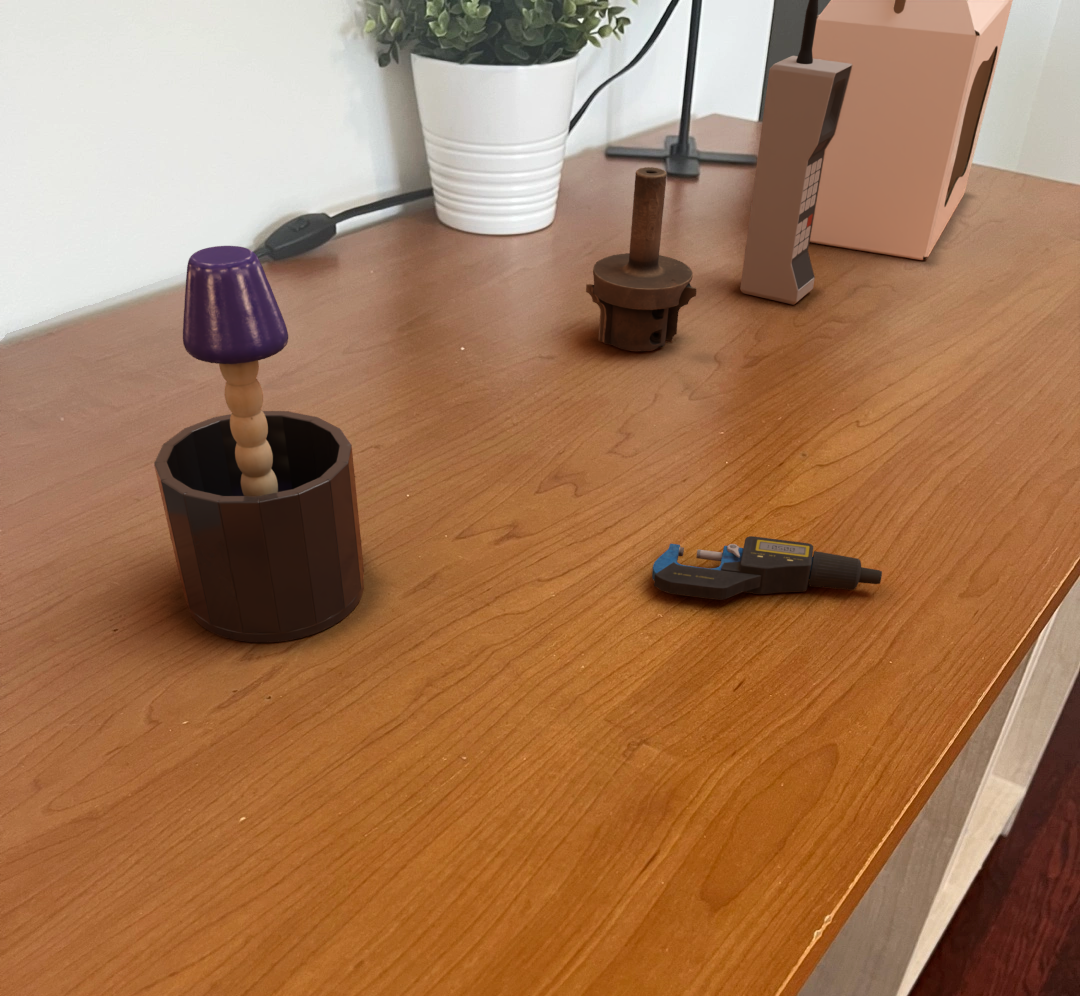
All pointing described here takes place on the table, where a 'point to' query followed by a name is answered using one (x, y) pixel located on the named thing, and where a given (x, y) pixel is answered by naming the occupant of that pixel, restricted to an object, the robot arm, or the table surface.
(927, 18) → the gable box
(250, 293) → the toy lamp
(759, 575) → the micrometer
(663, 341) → the industrial component
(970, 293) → the table surface
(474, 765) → the table surface
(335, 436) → the holder
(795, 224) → the vintage mobile phone
